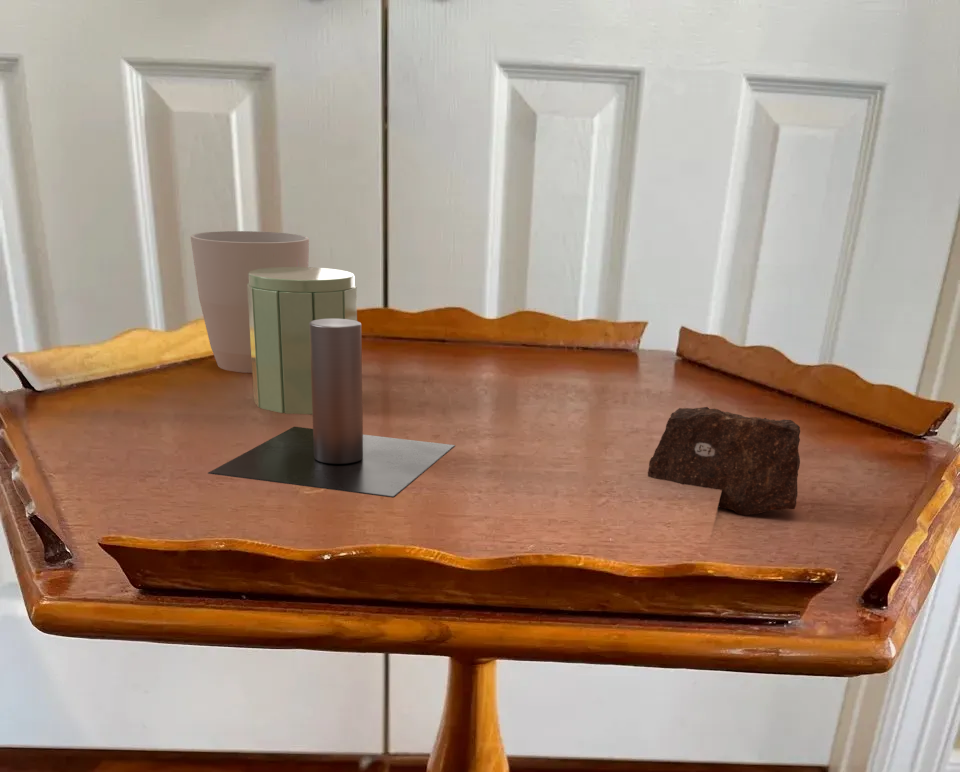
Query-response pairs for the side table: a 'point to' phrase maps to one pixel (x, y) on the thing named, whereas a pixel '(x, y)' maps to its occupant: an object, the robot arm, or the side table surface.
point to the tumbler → (291, 329)
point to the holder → (337, 430)
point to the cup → (237, 284)
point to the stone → (731, 458)
